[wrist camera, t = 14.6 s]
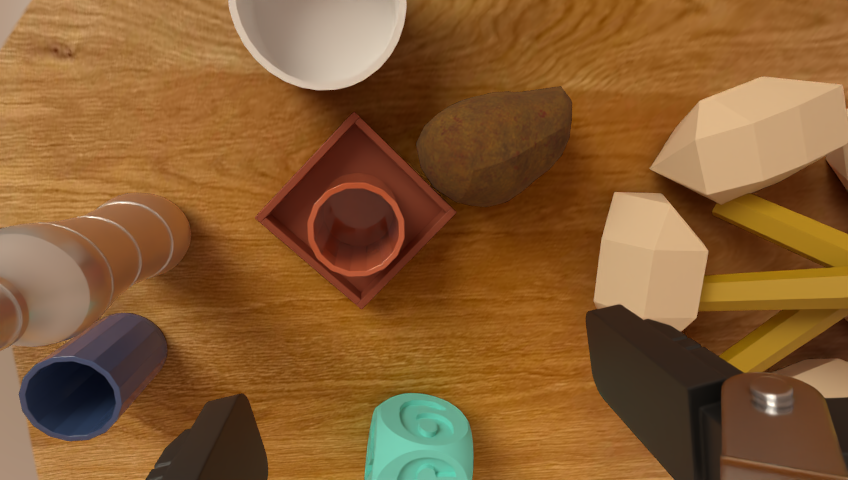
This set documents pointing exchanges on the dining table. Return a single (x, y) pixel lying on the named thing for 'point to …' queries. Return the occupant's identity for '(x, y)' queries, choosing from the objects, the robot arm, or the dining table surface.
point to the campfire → (740, 225)
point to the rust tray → (350, 154)
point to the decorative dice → (419, 440)
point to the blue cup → (93, 377)
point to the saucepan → (319, 38)
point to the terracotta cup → (356, 225)
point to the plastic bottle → (83, 265)
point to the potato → (495, 144)
